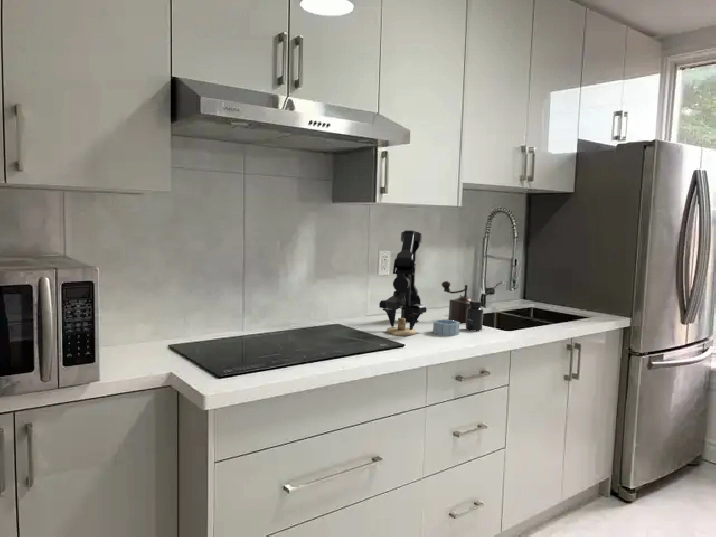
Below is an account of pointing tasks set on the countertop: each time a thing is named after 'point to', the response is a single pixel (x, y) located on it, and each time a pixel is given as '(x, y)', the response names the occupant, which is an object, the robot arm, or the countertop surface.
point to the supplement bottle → (474, 316)
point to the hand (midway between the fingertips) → (401, 328)
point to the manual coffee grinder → (457, 304)
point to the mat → (398, 335)
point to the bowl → (446, 327)
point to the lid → (401, 329)
